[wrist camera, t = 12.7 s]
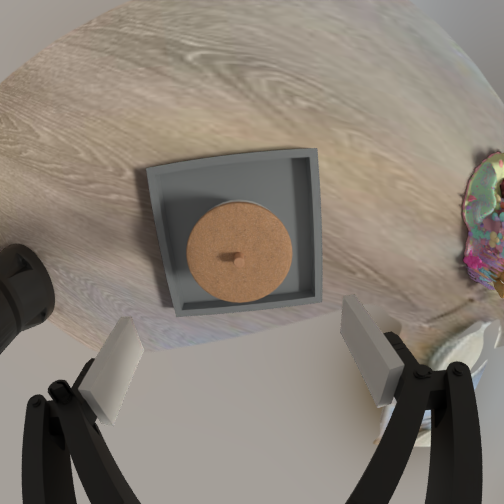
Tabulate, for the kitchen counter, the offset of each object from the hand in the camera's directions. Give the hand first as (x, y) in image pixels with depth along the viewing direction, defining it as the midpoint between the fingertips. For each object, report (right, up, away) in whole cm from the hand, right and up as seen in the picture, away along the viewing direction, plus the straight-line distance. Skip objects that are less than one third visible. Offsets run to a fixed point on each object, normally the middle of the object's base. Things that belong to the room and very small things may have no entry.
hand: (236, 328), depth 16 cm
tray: (-1, +7, +19) cm, 21 cm away
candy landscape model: (+47, +10, +20) cm, 52 cm away
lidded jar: (-1, +7, +19) cm, 20 cm away
